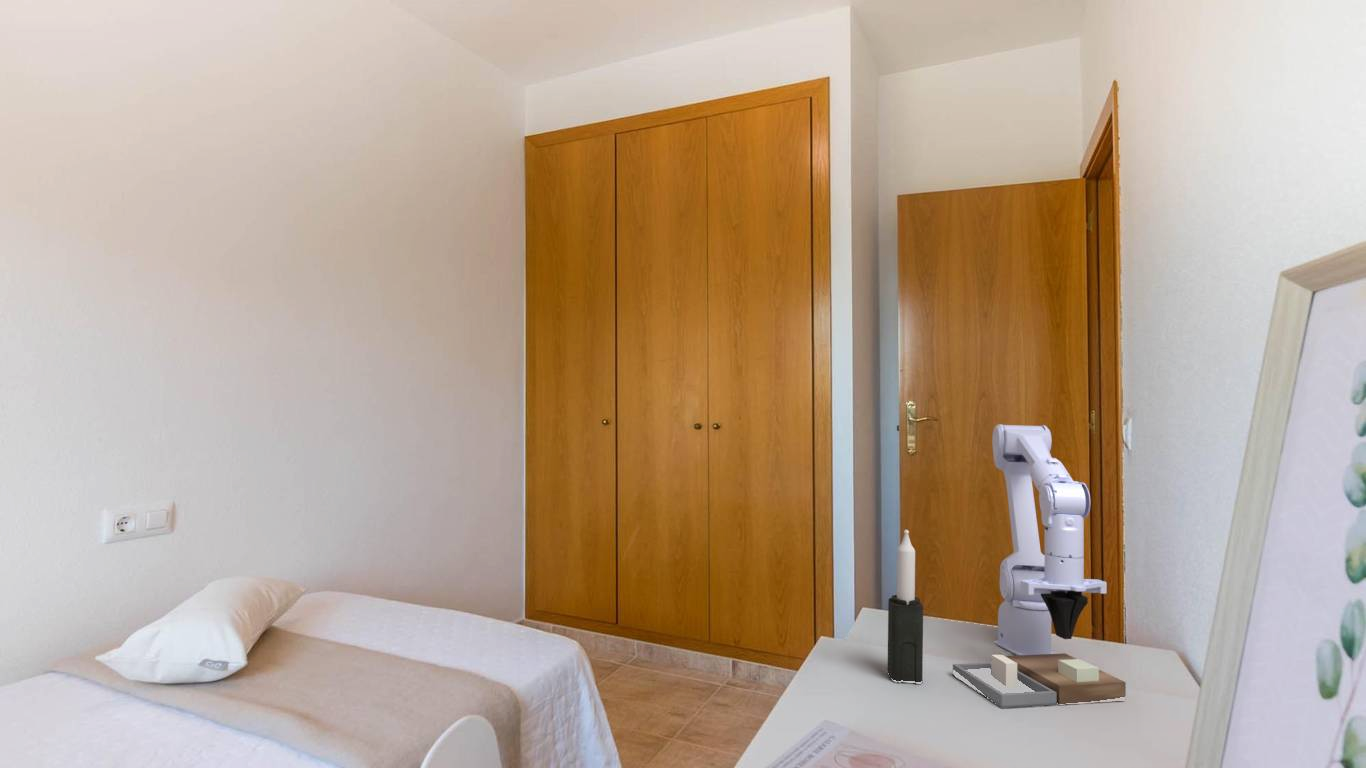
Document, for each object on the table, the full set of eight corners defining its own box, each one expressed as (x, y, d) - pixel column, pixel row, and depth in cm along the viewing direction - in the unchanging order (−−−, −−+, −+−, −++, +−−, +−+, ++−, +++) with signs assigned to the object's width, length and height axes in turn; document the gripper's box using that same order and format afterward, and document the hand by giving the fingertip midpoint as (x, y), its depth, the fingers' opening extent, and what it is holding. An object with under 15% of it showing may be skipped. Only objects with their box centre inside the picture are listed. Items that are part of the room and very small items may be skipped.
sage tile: (1058, 672, 110) (1058, 660, 110) (1079, 671, 111) (1079, 659, 111) (1076, 682, 106) (1076, 669, 107) (1098, 680, 107) (1098, 668, 107)
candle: (916, 673, 116) (918, 528, 117) (923, 685, 111) (925, 533, 112) (886, 671, 117) (888, 526, 118) (892, 683, 112) (894, 531, 113)
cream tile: (1002, 678, 114) (991, 678, 114) (1002, 654, 114) (991, 654, 114) (1017, 688, 110) (1005, 688, 110) (1017, 663, 110) (1006, 663, 110)
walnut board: (1004, 673, 117) (1004, 655, 118) (1064, 670, 120) (1064, 653, 120) (1059, 705, 105) (1059, 685, 105) (1125, 701, 107) (1125, 682, 107)
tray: (952, 675, 116) (952, 664, 116) (1002, 673, 117) (1002, 661, 117) (1001, 708, 103) (1002, 695, 103) (1056, 705, 105) (1056, 692, 105)
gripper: (1041, 560, 107) (1041, 646, 107) (1121, 559, 110) (1121, 644, 109) (1012, 551, 114) (1012, 632, 114) (1088, 550, 117) (1088, 630, 116)
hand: (1063, 637), depth 112 cm, fingers closed
